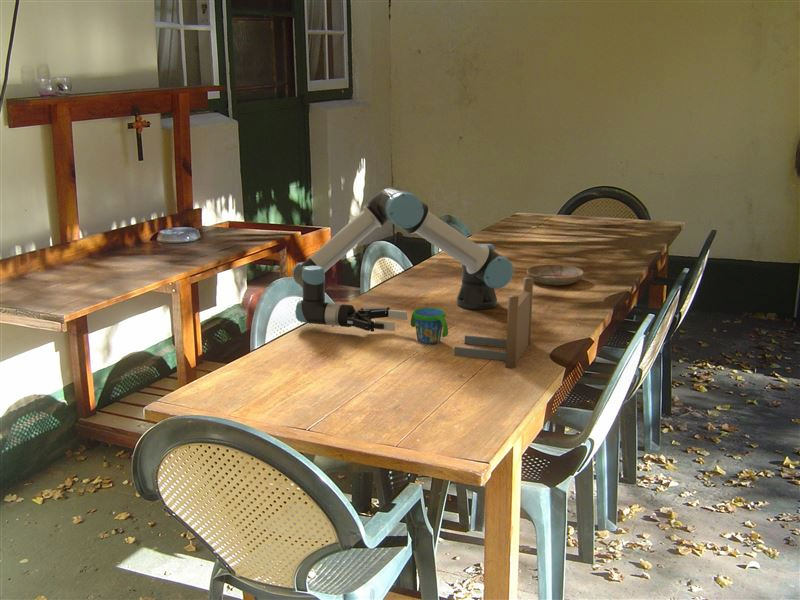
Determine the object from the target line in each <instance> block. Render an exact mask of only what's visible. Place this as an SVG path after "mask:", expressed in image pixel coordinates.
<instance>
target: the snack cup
mask: <svg viewBox="0 0 800 600" xmlns="http://www.w3.org/2000/svg"><path fill="white" fill-rule="evenodd" d="M446 312H447V311H445V310H444V309H441V308H437V307H420V308H417V309H414V310H413V311H412V312H411V313H412V314H411V318H410V326H411V327H412V328H415V331H416V332H415V333H416V338H417V342H418V343H421V344H425V345H436V344H438V343H440V341H441V340H442V339H441V338H445V337H447V336H448V334H449V328H448V323H447V322H448V321H447V319H446V315H447V313H446Z"/></svg>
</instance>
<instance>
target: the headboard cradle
mask: <svg viewBox="0 0 800 600" xmlns="http://www.w3.org/2000/svg"><path fill="white" fill-rule="evenodd" d="M533 286H534V280H533V278H531V277H529V276H526V277H523V285H522V287H523V288H522V293H521V294H520V296H519V295H516V294H511V295H508V298H507V299H508V301H507V320H506V321H507V324H506V325H507V327H506V338H498V337H496V338H495V337H487V336H480V335H479V336H477V335H467V334H465V335H464V344H466V343H467V345H477V346H478V345H479V346H486V345H488V347H495V346H496V348H497V347H498V348H506V351H500V350H491V349H490V350H489V349H479V348H472V347H471V348H470V347H462V346H461V347H460V346H454V348H453V349H454V351H453V356H458V357H467V358H475V359H477V358H479V359H484V360H485V359H486V360H494V361H496V360H497V361H503V362H504V361H505V368H507V369H515V368H517V364H518V362H519V360H520V359H521V357H522V355H523V354H524V352H525V350H526V349H527V348H528V346H530V345H531V335H532V318H533V317H532V313H533V311H532V310H533V293H534V292H533V291H534V290H533V289H534V287H533Z"/></svg>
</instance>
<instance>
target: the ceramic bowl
mask: <svg viewBox="0 0 800 600" xmlns="http://www.w3.org/2000/svg"><path fill="white" fill-rule="evenodd" d="M525 272H526V275H527V277H531V278H533V282H536V283H539V284H543V285H547V286H567V285H571V284H575V283H578V282H579V281H581V280H582V279H583V277H584V274H585V273H584V270H583V269H581V268H578V267H576V266H572V265H566V264H565V265H564V264H539V265H533V266H530V267H528V268H526V271H525Z"/></svg>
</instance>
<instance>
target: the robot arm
mask: <svg viewBox="0 0 800 600" xmlns="http://www.w3.org/2000/svg"><path fill="white" fill-rule="evenodd" d="M362 206H363V207H362V211H361V212H360V213H358V214H357V215H356V216H355V217H354V218H352V220H351V221H349V222H348V223H347V224H346V225H345V226H344V227H343V228H342V229H340V230H339V231H338V232H336V234H334V236H332V237H331V238H330V239H329V240H328V241H326V243H324V244H323V245H322V246H321V247H320V248H319V249H317V251H316V252H314V253H313V254H312V255H311V256H310V257H309V258H307V259H306V260H305V261H304V262H303V261H302V262H298V263H296V264H295V265H294V266H293V268H292V270H291V271H292V278H293V279H294V281H295V283H296V284H297V285H299V286H300V288H302V300H299V301H298V302H297V304H296V306H295V314H294V315H295V317H296V319H297V321H299V322H300V323H305V324H311V325H312V324H315V325H324V326H331V328H334V327H339V326H340V327H342V328H343V327H344V328H352V327H354V328H358V329H361V330H363V331H367V332H369V331H370V332H375V330H380V331H391V332H394V331H395V329H396V328H395V326H396V325H395V322H394V321H386V320H385V321H384V320H383V321H382V320H375V321H374V320H372V319H381V318H383V319H384V318H388V319H392V320H393V319H394V320H396V319H397V320H404V321H407V320H408V311H405V310H396V309H395V310H392V309H390V307H389V306H387V307H378V308H377V307H372V308H371V307H370V308H364V307H361V308H360V309H359V310H355V307H354V305H352V304H345V303H343V304H341V303H335V302H333V303H332V302H326V289H325V288H326V275H325V273H326V272H327V271H328V270H329V269H330V268H332V267H333V266H335V264H336V263H337V262H339V261H340V260H341V259H342V258H343V257H345V255H346V254H348V253H349V252H350V251H351V250H352V249H354V248H355V247H356V246H357V245H358V244H359V243H360V242H361V241H363V239H365V238H366V237H367V236H369V235H370V233H372V232H373V231H374V230H375V229H376V228H382V227H383V226H384V225H385V224H386V223H388V222H390V223H391V224H393V225H394V226H396V227H398V228H399V229H401V230H403V231H404V232H406V234H409V235H413V234H416V235H418V236H420V237H422V238H423V239H424V240H425V241H427V242H429V243H430V244H432V245H433V246H435V247H437V248H438V249H439V250H441V251H442V252H444V253H445V254H447V255H448V256H449V257H452V258H453V259H454V260H456V261H458V262H459V263H460V264H462V265H461V285H460V288H459V291H458V294H457V297H456V305H457V306H458V307H460V308H463V309H468V310H488V309H493V308H496V307H498V306H497V305H498V298H497V294H496V291H495V289H497V290H498V289H501V288H505V287H506V286H507V285H508V284H510V282H511V280H512V279H513V275H514V265H513V263H512V261H510V259H508V258H507V257H506V256H503V255H501V254H499V253H498V252H497V251H495V250H496V249H495V245H494V244H491V243H477V242H474V241H472V240H471V239H470V238H468V237H467V236H466V235H464V234H462V232H459V231H458V230H456V229H455V228H453V227H452V226H451V225H449V224H448V223H446V222H445V221H443V219H441V218H439V217H438V216H436V215H434V214H433V213H432V212H430V207H429V205H428V204H426V203H425V202H423V200H420V198H419V197H418V196H417V195H416V194H414V193H412V192H410V191H406V190H404V189H402V188H399V187H396V186H390V187H387V188H384V189H382V190H381V191H379V192H378V193H377V194H376V195H375V196H373V197H372V198H371V199H370V200H369V201H367V203H365V204H364V205H362Z"/></svg>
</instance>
